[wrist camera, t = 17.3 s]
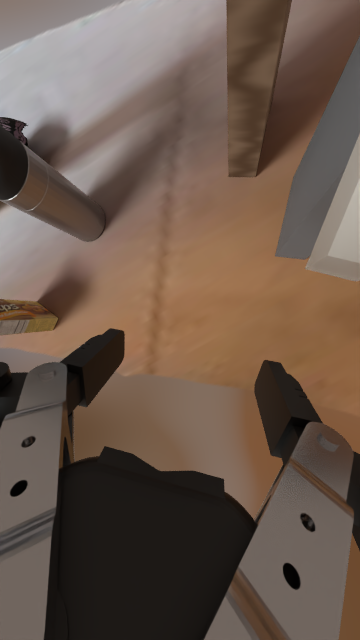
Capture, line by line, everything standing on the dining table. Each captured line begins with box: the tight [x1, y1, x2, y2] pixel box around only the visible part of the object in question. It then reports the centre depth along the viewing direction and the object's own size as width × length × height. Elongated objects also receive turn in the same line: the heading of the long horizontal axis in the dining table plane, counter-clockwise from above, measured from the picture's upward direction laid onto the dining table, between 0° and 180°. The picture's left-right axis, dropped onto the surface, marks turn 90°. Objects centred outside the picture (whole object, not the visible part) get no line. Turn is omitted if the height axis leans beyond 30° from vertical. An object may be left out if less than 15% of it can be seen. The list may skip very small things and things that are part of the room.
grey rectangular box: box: [275, 36, 360, 259], centre depth 22 cm, size 5×14×24 cm, turn 169°
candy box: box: [0, 299, 58, 335], centre depth 42 cm, size 9×4×15 cm, turn 59°
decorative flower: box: [0, 117, 28, 147], centre depth 44 cm, size 15×12×15 cm
